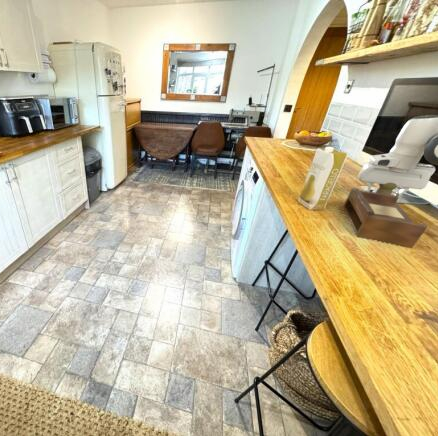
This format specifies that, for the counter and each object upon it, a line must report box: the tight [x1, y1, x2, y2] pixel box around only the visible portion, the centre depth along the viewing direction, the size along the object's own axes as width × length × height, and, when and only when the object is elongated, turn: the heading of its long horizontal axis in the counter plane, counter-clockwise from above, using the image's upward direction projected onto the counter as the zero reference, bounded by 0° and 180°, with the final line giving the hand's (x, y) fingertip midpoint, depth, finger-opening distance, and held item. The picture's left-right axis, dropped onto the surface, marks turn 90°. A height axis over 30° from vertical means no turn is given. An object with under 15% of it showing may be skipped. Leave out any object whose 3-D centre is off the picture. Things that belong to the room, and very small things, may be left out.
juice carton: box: [297, 146, 349, 211], centre depth 93 cm, size 9×8×24 cm
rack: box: [342, 187, 428, 249], centre depth 84 cm, size 14×24×9 cm, turn 154°
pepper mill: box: [375, 183, 398, 195], centre depth 97 cm, size 6×6×11 cm
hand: (382, 194), depth 97 cm, fingers open, 7 cm apart
